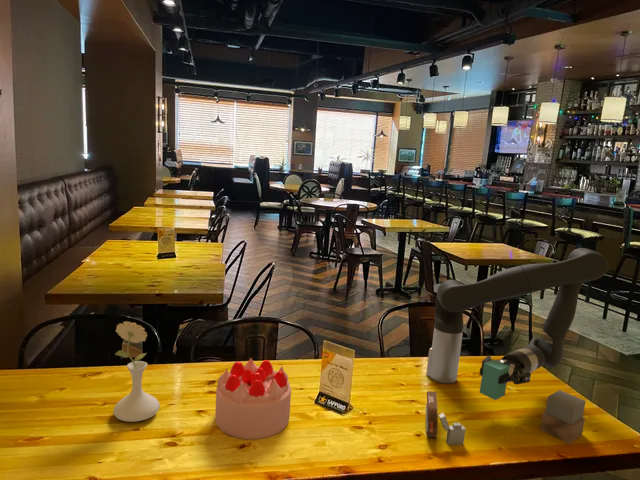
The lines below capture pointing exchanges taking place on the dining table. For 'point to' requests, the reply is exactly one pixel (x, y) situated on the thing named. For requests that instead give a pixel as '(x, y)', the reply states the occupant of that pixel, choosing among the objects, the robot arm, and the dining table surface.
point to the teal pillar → (493, 379)
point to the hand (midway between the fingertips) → (490, 376)
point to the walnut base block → (561, 428)
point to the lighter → (453, 431)
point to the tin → (431, 414)
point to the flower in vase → (135, 380)
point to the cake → (252, 400)
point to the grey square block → (565, 407)
